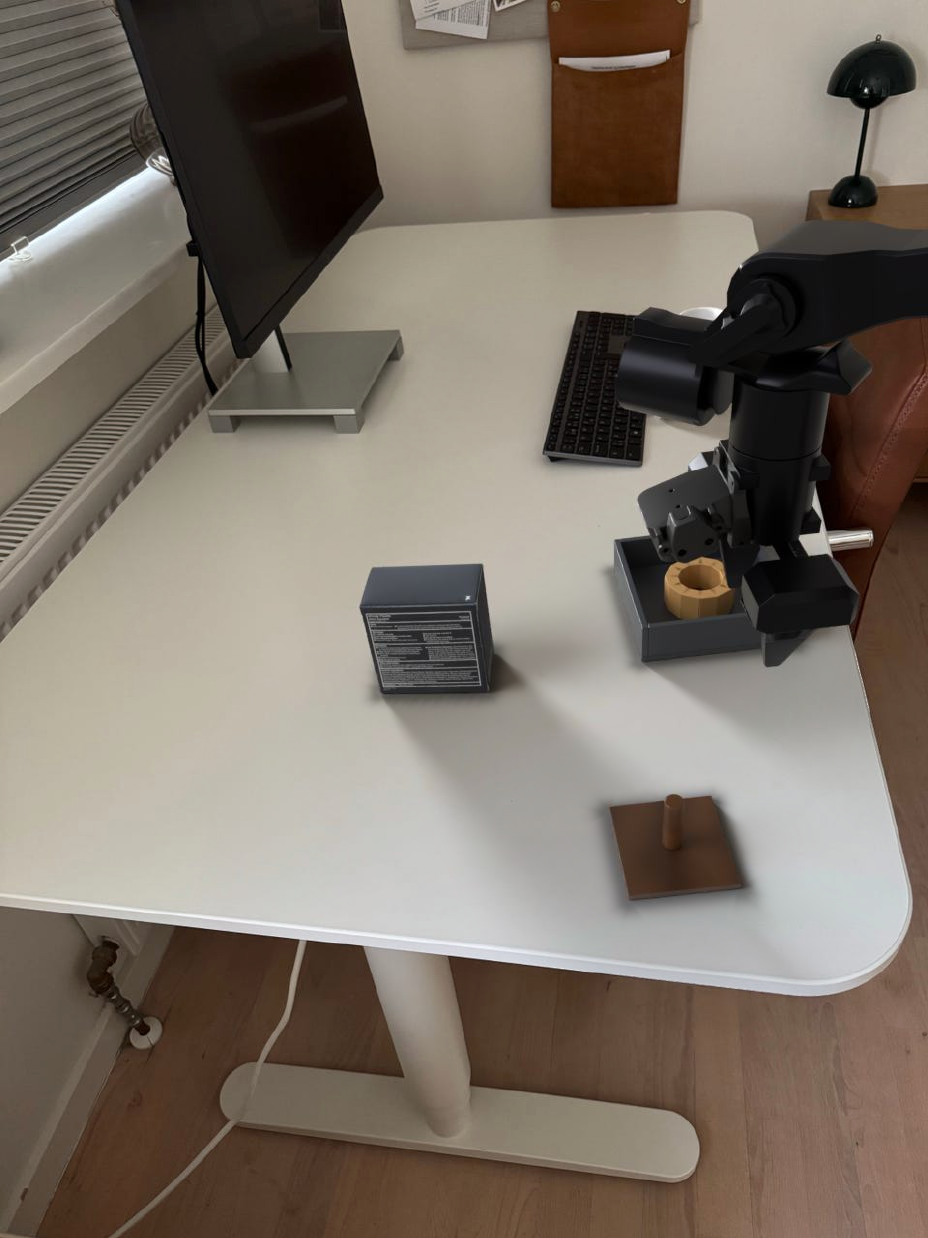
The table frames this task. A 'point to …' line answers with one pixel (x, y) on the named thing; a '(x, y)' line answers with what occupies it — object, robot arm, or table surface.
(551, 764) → the table surface
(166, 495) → the table surface
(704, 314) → the teacup
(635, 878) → the wooden peg board
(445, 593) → the small box
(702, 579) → the tape
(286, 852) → the table surface
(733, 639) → the tray
